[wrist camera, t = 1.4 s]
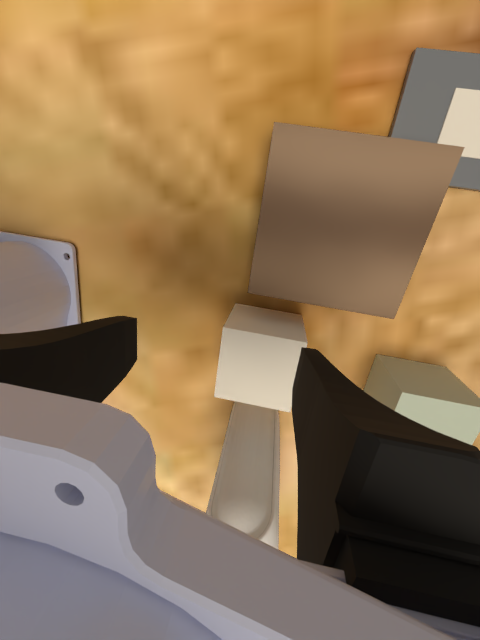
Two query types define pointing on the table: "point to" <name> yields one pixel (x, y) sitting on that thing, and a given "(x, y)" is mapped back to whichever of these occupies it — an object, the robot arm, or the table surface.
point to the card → (443, 107)
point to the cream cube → (260, 356)
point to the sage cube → (426, 396)
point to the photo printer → (249, 473)
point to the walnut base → (346, 216)
